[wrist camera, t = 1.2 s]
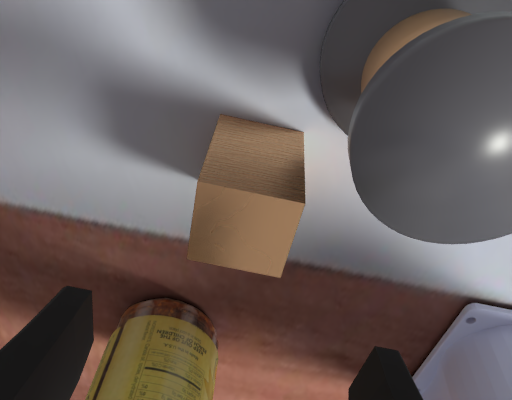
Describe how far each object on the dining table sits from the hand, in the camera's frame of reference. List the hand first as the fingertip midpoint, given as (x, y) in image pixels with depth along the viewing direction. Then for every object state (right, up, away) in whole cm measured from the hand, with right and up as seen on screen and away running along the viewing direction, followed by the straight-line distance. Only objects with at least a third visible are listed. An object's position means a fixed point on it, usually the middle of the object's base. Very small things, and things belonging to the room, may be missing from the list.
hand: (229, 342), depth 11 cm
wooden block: (+1, +5, +8) cm, 10 cm away
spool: (+7, +9, +5) cm, 12 cm away
